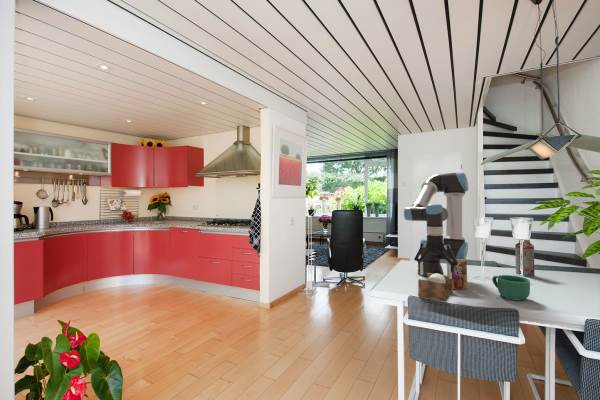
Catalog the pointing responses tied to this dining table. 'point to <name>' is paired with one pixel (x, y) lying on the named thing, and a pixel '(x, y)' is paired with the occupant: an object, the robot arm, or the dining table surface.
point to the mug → (512, 286)
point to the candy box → (459, 274)
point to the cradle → (435, 288)
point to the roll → (437, 278)
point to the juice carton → (525, 258)
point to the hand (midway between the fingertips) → (435, 276)
